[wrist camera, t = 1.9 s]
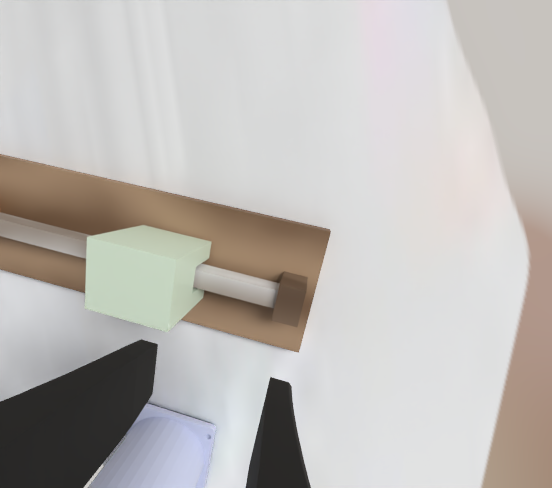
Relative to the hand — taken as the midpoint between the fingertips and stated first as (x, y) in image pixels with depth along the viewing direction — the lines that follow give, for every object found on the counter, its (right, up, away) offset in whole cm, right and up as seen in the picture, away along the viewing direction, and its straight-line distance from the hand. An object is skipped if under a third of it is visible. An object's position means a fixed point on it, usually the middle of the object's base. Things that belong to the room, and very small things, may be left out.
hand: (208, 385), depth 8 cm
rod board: (-9, +5, +11) cm, 15 cm away
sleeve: (-5, +3, +9) cm, 11 cm away
